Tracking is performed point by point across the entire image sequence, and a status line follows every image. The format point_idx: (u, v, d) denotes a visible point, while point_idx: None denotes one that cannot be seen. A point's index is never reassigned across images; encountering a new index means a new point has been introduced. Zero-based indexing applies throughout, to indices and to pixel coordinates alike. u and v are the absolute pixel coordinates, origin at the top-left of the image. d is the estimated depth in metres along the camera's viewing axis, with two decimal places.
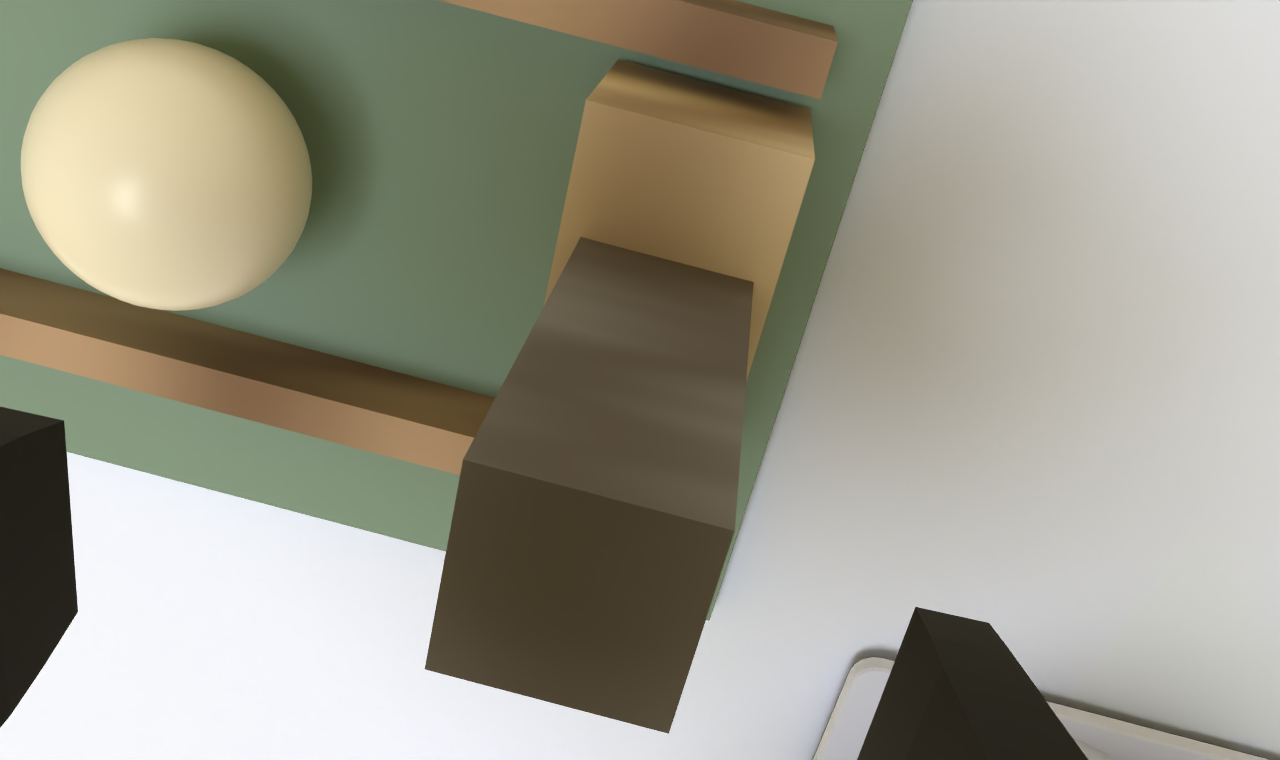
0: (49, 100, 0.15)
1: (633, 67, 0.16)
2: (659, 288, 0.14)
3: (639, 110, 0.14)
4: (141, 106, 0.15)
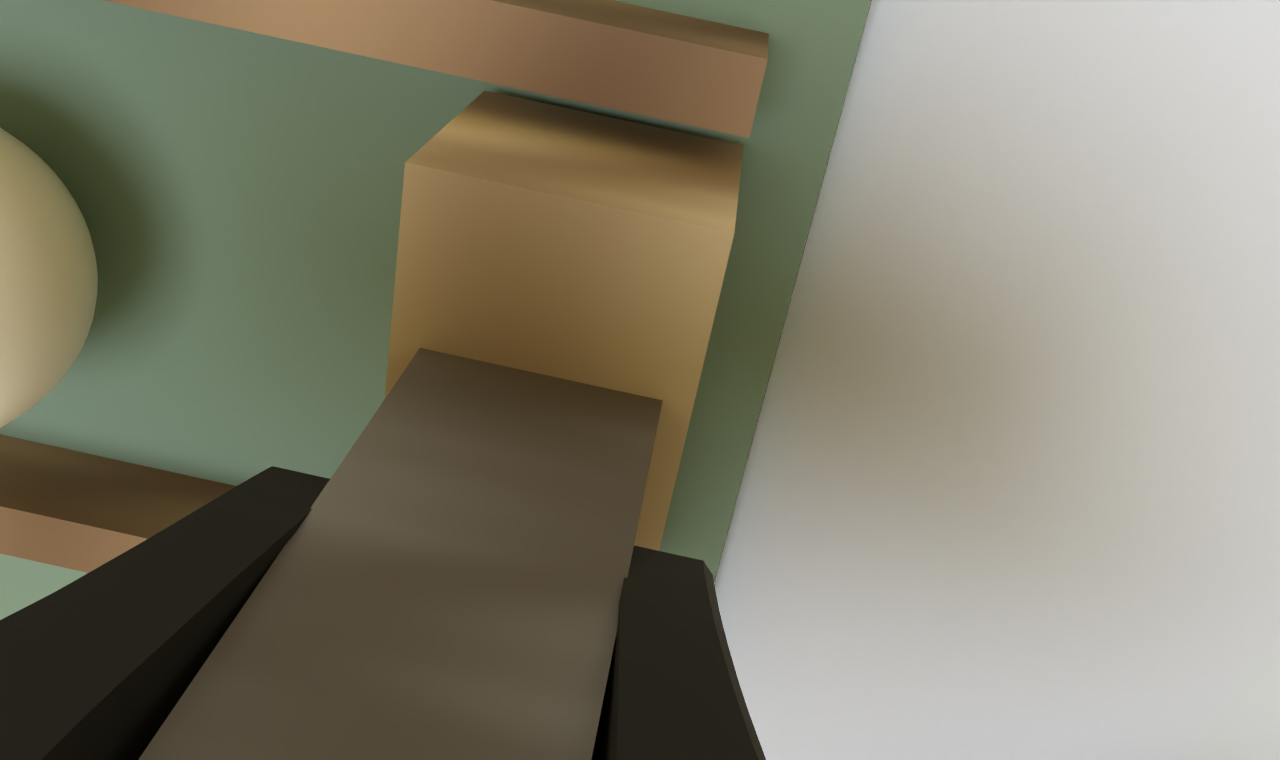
0: None
1: (501, 101, 0.12)
2: (518, 428, 0.10)
3: (483, 173, 0.10)
4: None
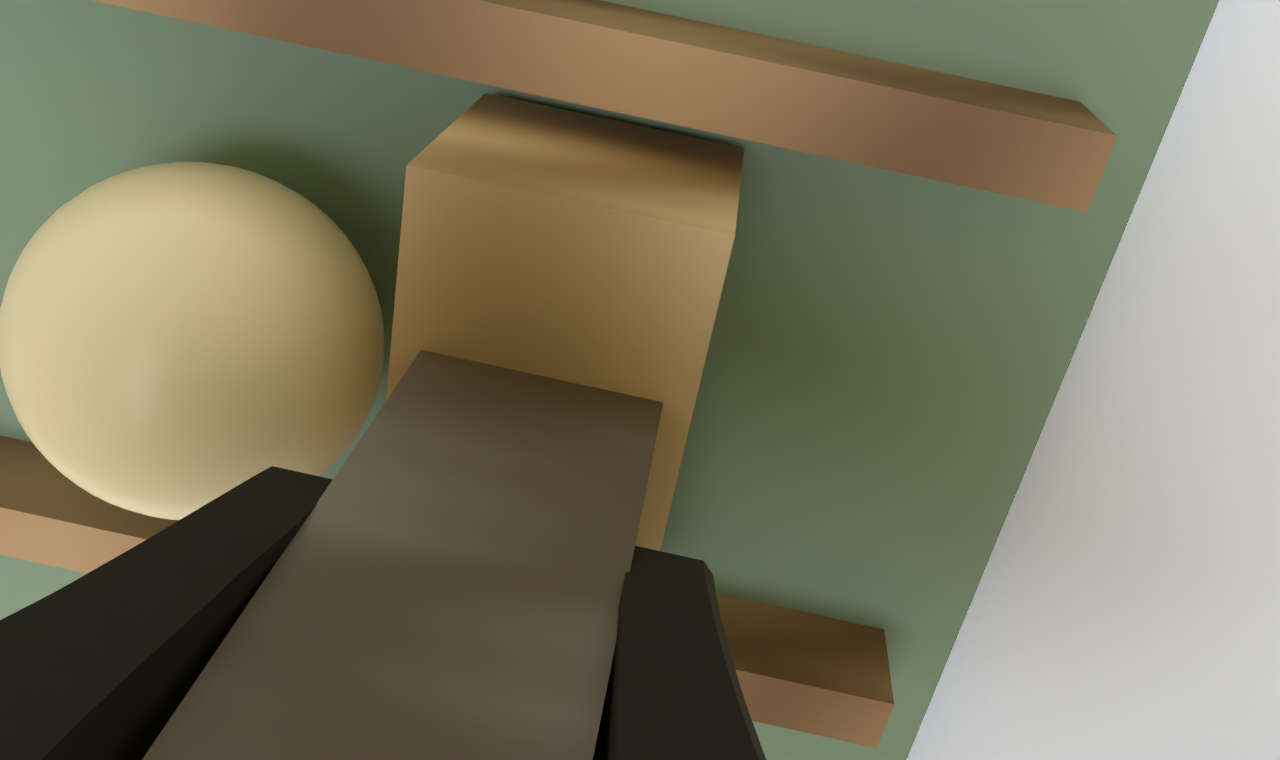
0: (31, 265, 0.11)
1: (503, 104, 0.12)
2: (519, 430, 0.10)
3: (485, 175, 0.10)
4: (159, 273, 0.11)
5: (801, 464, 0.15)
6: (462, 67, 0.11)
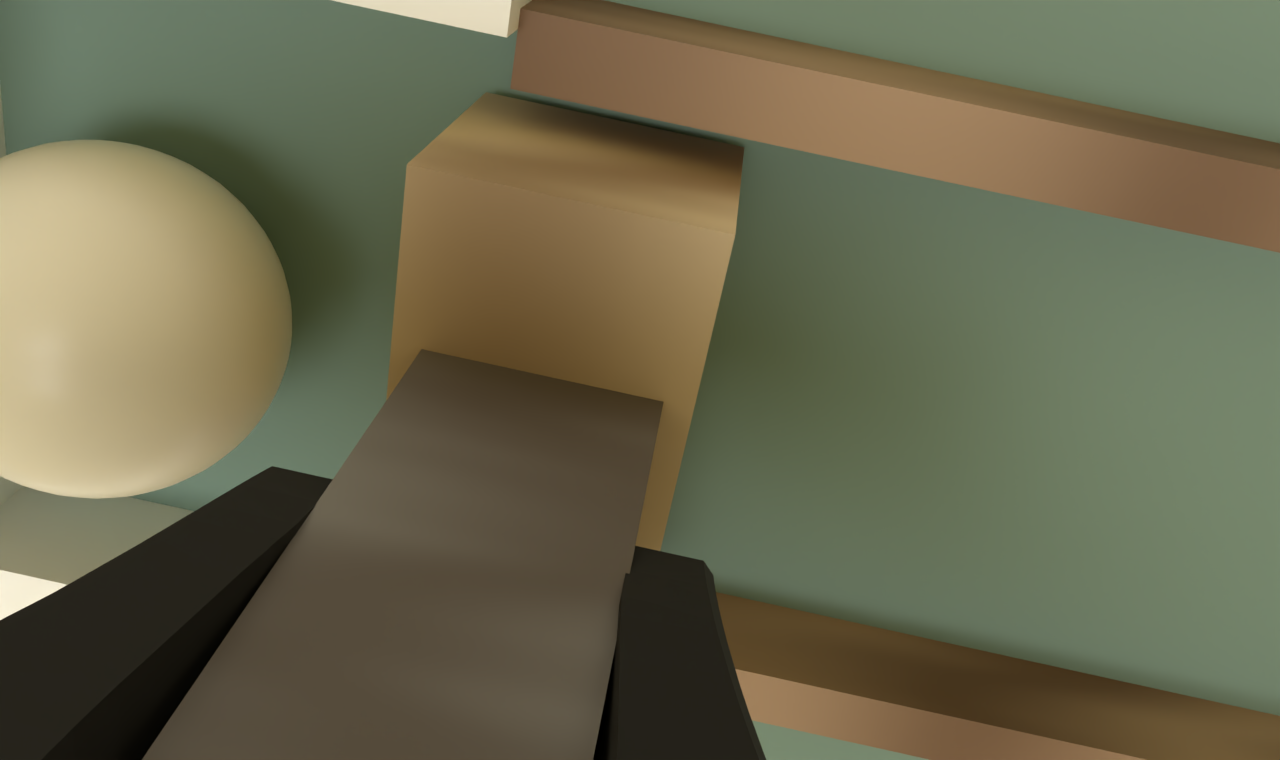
0: (86, 295, 0.11)
1: (503, 103, 0.12)
2: (520, 429, 0.10)
3: (485, 174, 0.10)
4: (216, 234, 0.12)
5: None
6: None
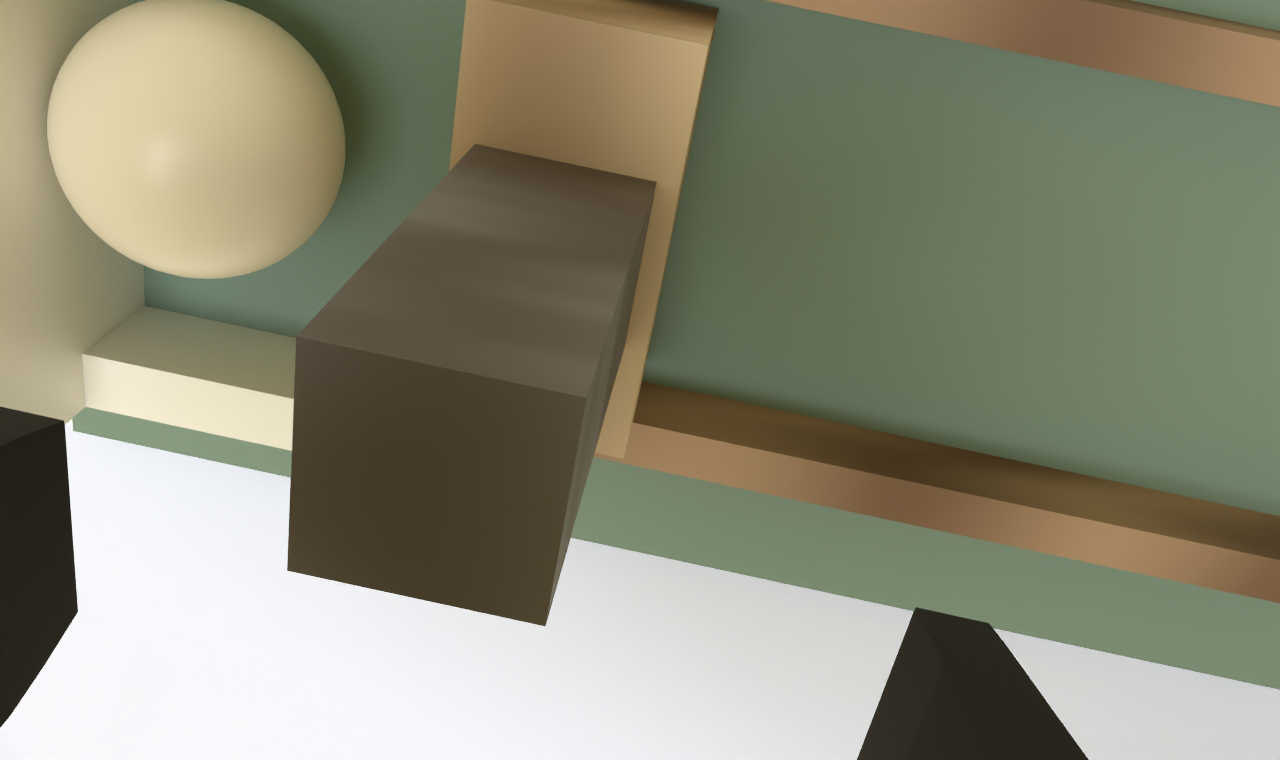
0: (177, 95, 0.14)
1: None
2: (551, 187, 0.13)
3: (524, 4, 0.14)
4: (280, 66, 0.15)
5: None
6: (1167, 73, 0.15)
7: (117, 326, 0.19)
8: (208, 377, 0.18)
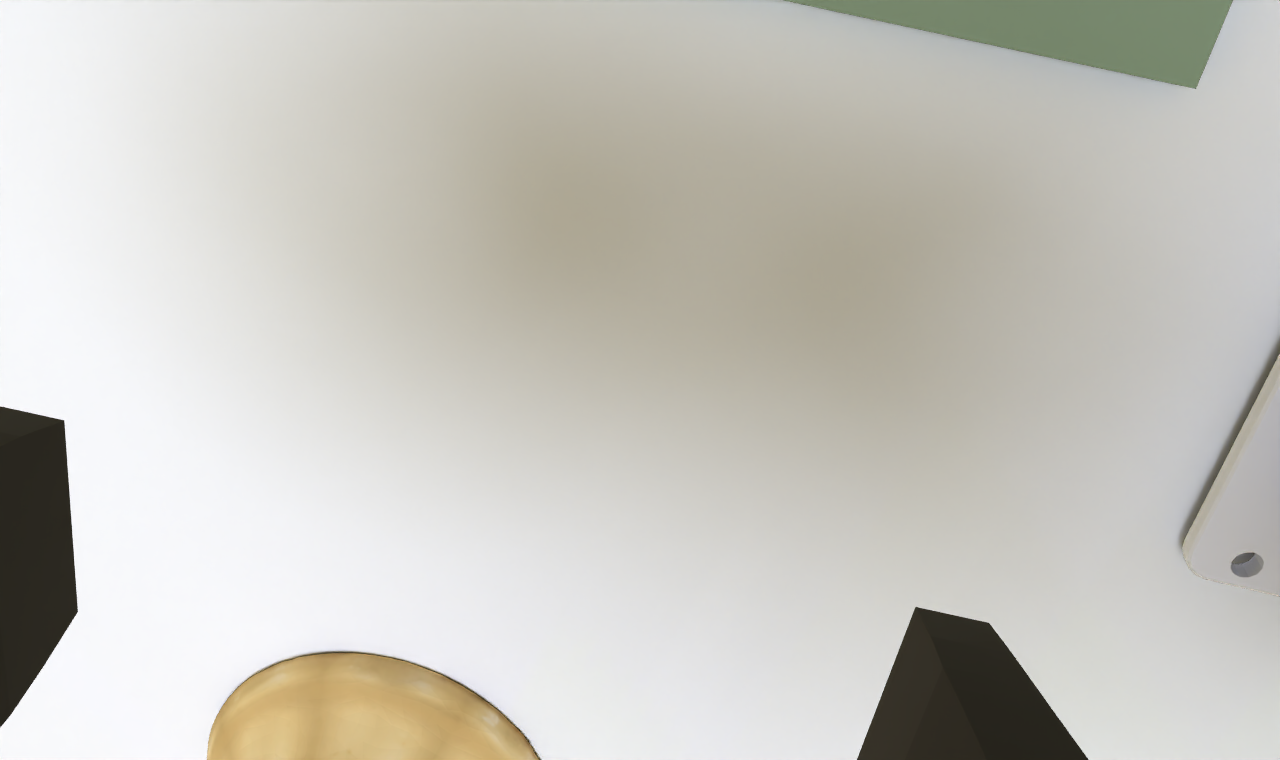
0: None
1: None
2: None
3: None
4: None
5: None
6: None
7: None
8: None
